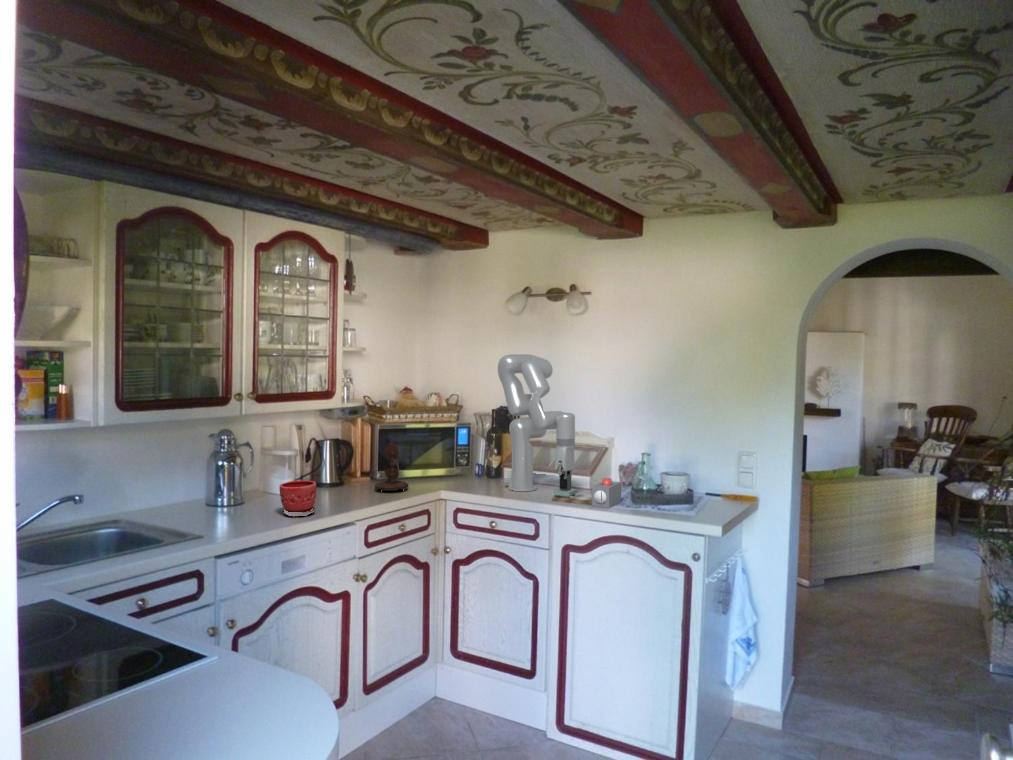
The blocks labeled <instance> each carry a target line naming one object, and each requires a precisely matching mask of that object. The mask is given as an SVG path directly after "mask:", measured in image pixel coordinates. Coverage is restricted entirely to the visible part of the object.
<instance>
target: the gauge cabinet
mask: <svg viewBox="0 0 1013 760" xmlns="http://www.w3.org/2000/svg"><path fill="white" fill-rule="evenodd" d="M591 495H592V505H591V506H592V508H600V509H601V508H603V509H610V508H612V507H614V506H617V505H618V504H620V503H622V482H621V481H612V482H611V486H608V485H602V481H601V482H599V483H597V484H594V485H592V487H591Z"/></svg>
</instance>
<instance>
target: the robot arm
mask: <svg viewBox="0 0 1013 760" xmlns="http://www.w3.org/2000/svg"><path fill="white" fill-rule="evenodd" d="M497 374H498V378H499V381H500V383H501V385H502V388H503V393H504V397H505V402H506V405H507V410H508V412H509V414H510V415H512V416H514V417H515V416H516V417H517V416H525V417H518V418H515V419H513V420H511V422H510V423H509V428H508V429H509V435H510V444H511V477H510V478H504V484H509V485H507V489H508V490H509V491H512V490H513V492H532V491H536V490H537V486H536V485H535V484H534V448H533V445H532V442H531V441H530V440H532V439H541V438H543V437H545V435H546V434H547V431H548V430H556V432H555V433H556V438H555V439H556V440H555V441H556V450H555V459H554V460H555V461H554V470H555V472H557V475H558V476H559V477H558V478H559V489H560V488H563V489H567V479H566V477H567V474H571V478H572V472H573V470H574V469H575V449H574V448H575V446H576V440H575V439H576V416H575V414H574V413H572V412H564V411H561V410H552V411H550V410H549V411H548V410H547V411H544V408H543V407H544V406H543V404H542V400H541V399H542V398H544V397H546V396H547V395H548V393H550V390H551V387H550V385H549V382H548V380H547V379H548V378H550V377H551V376H552V375H553V366H552V364H551V362H550V361H549V360H548V359H545V358H543V357H539V356H537V355H533V354H528V353H526V354H522V353H521V354H518V353H517V354H516V353H515V354H506V355H503V356H502V357H500V359H499V360H498V363H497ZM516 374H522V376H523V379H524V381H525V384H526V385H527V388H528V390H529V393H525V391H524V388H523V384H522V382H521V380H520V379H519V377H517V376H516ZM526 416H528V417H526Z"/></svg>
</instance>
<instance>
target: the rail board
mask: <svg viewBox="0 0 1013 760" xmlns="http://www.w3.org/2000/svg"><path fill="white" fill-rule="evenodd" d="M551 502H559V503H570V504H579V505H588V506H592V494H581V493H580V494H579V493H576V494H573V495H571V496H561V495H553V496H551Z"/></svg>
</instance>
